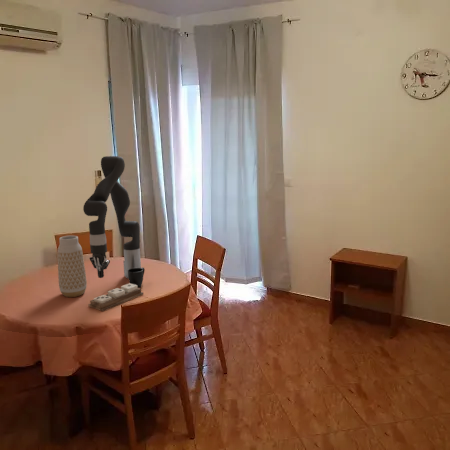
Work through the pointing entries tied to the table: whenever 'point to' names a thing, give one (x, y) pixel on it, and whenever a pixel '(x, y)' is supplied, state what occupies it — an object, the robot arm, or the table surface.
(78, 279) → the vase
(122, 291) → the tile two
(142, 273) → the mug
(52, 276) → the table surface
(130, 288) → the tile one
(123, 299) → the board
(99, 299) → the tile three
